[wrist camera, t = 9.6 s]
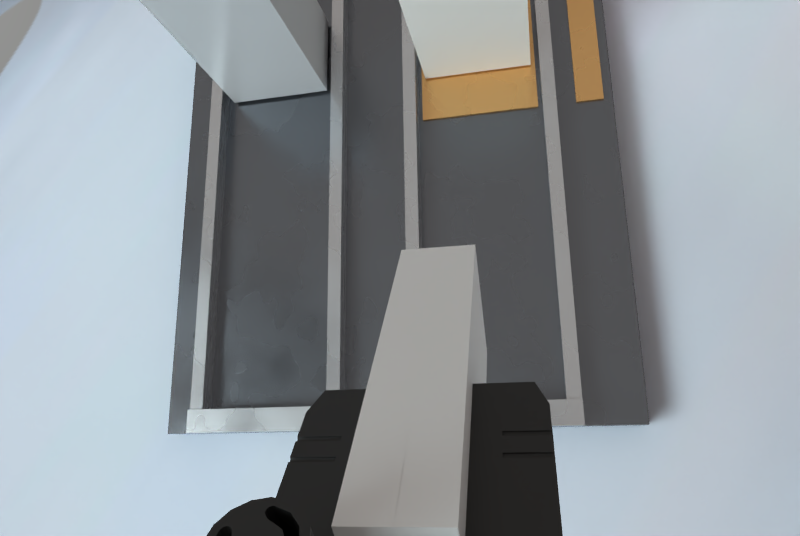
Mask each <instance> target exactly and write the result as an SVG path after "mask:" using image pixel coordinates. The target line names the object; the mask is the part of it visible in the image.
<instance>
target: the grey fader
mask: <svg viewBox="0 0 800 536" xmlns="http://www.w3.org/2000/svg"><path fill="white" fill-rule="evenodd" d="M139 1H140V2H141V3H142V4H143V5H144V6H145V7H146V8H147V9H148V10H149V11H150V12H151V13H152V14H153V16H154V17H155V18H156V19H157V20H158V21H159V22H160V23H161V24H162V25H163V26H164V27H165V28H166V30H167V31H168V32H169V33H170V34H171V35H172V36H173V37H174V38H175V39H176V40H177V41H178V42H179V43H180V45H181V46H182V47H183V48H184V49H185V50H186V51H187V52H188V53H189V54H190V55H191V56H192V57H193V59H194V60H195V61H196V62H197V63H198V64H199V65H200V66H201V67H202V68H203V69H204V70H205V71H206V72H207V74H208V75H209V76H210V77H211V78H212V79H213V80H214V81H215V82H216V83H217V84H218V85H219V86H220V88H221V89H222V90H223V91H224V92H225V93H226V94H227V95H228V96H229V97H230V98H231V99H232V100H233V101H234V103H237V102H245V101H252V100H260V99H267V98H275V97H282V96H290V95H297V94H305V93H312V92H320V91H327V63H328V20H327V18H326V16H325V14H324V12H323V10H322V9H321V7H320V5H319V3H318V1H317V0H139Z"/></svg>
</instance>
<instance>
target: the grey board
mask: <svg viewBox="0 0 800 536" xmlns="http://www.w3.org/2000/svg"><path fill="white" fill-rule="evenodd" d="M317 1H318V3H319V5H320V7H321V9H322V10H323V12H324V14H325V16H326V18H327V20H328V63H327V91H320V92H312V93H305V94H297V95H290V96H282V97H275V98H267V99H260V100H252V101H245V102H237V103H234V101H233V100H232V99H231V98H230V97H229V96H228V95H227V94H226V93H225V92H224V91H223V90H222V89H221V88H220V86H219V85H218V84H217V83H216V82H215V81H214V80H213V79H212V78H211V77H210V76H209V75H208V74H207V72H206V71H205V70H204V69H203V68H202V67H201V66H200V65H199V64H198V63H197V62H196V73H195V86H194V99H193V113H192V126H191V139H190V152H189V165H188V178H187V191H186V204H185V217H184V230H183V243H182V256H181V269H180V282H179V296H178V309H177V322H176V335H175V348H174V361H173V374H172V387H171V400H170V413H169V426H168V434H206V433H258V432H299V431H300V428H301V425H302V422H303V420H304V417H305V414H306V412H307V410H308V409H309V408H310V407H311V406H312V405H313V404H314V403H315V401H316V400H317V399H318V398H319V397H320V396H321V395H322V393H323V392H324V391H325V390H348V389H366V388H367V384H368V380H369V376H370V372H371V368H372V364H373V360H374V356H375V352H376V348H377V344H378V341H379V337H380V333H381V329H382V325H383V321H384V317H385V313H386V309H387V305H388V301H389V297H390V293H391V289H392V285H393V282H394V278H395V274H396V270H397V266H398V262H399V258H400V254H401V250H406V249H420V248H434V247H447V246H461V245H475V247H476V256H477V265H478V274H479V283H480V292H481V301H482V310H483V320H484V329H485V338H486V347H487V378H486V383H508V382H535V383H536V385H537V386H538V388H539V389H540V390H541V392H542V393H543V395H544V396H545V398H546V399H547V401H548V402H549V403H550V411H551V422H552V427H570V426H622V425H649V417H648V408H647V399H646V390H645V381H644V372H643V363H642V354H641V345H640V336H639V327H638V318H637V310H636V301H635V292H634V283H633V274H632V265H631V256H630V247H629V238H628V229H627V220H626V211H625V202H624V193H623V184H622V176H621V167H620V158H619V149H618V140H617V131H616V122H615V113H614V104H613V95H612V86H611V77H610V68H609V59H608V50H607V41H606V33H605V24H604V15H603V6H602V0H528V21H529V41H530V62H531V65H525V66H518V67H510V68H503V69H495V70H487V71H480V72H472V73H465V74H457V75H450V76H442V77H435V78H427V79H425V76H424V73H423V70H422V67H421V64H420V61H419V58H418V55H417V52H416V49H415V47H414V44H413V41H412V38H411V35H410V32H409V29H408V26H407V23H406V20H405V17H404V14H403V11H402V8H401V6H400V3H399V0H317Z"/></svg>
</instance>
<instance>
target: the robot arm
mask: <svg viewBox="0 0 800 536" xmlns="http://www.w3.org/2000/svg"><path fill="white" fill-rule="evenodd" d="M486 378H487V347H486V338H485V329H484V320H483V310H482V301H481V292H480V283H479V274H478V265H477V256H476V247H475V245H461V246H447V247H434V248H420V249H406V250H401V254H400V258H399V262H398V266H397V270H396V274H395V278H394V282H393V285H392V289H391V293H390V297H389V301H388V305H387V309H386V313H385V317H384V321H383V325H382V329H381V333H380V337H379V341H378V344H377V348H376V352H375V356H374V360H373V364H372V368H371V372H370V376H369V380H368V384H367V388H366V389H348V390H325V391H324V392H323V393H322V395H321V396H320V397H319V398H318V399H317V400H316V401H315V403H314V404H313V405H312V406H311V407H310V408H309V409H308V410H307V412H306V414H305V417H304V420H303V422H302V425H301V428H300V431H299V434H298V441H296V442H295V445H294V448H293V451H292V454H291V456H290V458H291V460H290V462H288V465H287V468H286V471H285V473H284V476H283V479H282V482H281V485H280V487H279V490H278V493H277V496H276V498H273V497H270V498H263V499H257V500H251V501H249V502H247V503H245V504H243V505H241V506H238V507H236V508H234V509H232V510H230V511H229V512H228V513H227V514H226V515H225V516H223V517H222V518H221V519H220V520H219V521H218V522H217V523H215V524H214V525H213V527H212V528H211V530H210V531H209V533H208V534H207V536H563V535H562V525H561V515H560V504H559V494H558V484H557V473H556V463H555V453H554V442H553V433H552V422H551V411H550V403H549V402H548V401H547V399H546V398H545V396H544V395H543V393H542V392H541V390H540V389H539V388H538V386H537V385H536V383H535V382H508V383H486Z"/></svg>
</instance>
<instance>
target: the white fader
mask: <svg viewBox="0 0 800 536" xmlns="http://www.w3.org/2000/svg"><path fill="white" fill-rule="evenodd" d="M399 3H400V6H401V8H402V11H403V14H404V17H405V20H406V23H407V26H408V29H409V32H410V35H411V38H412V41H413V44H414V47H415V49H416V52H417V55H418V58H419V61H420V64H421V67H422V70H423V73H424V76H425V79H427V78H435V77H442V76H450V75H457V74H465V73H472V72H480V71H487V70H495V69H503V68H510V67H518V66H525V65H531V62H530V41H529V21H528V0H399Z"/></svg>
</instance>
